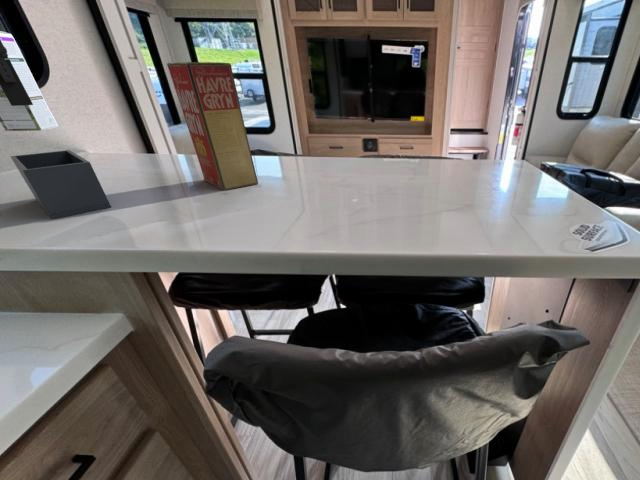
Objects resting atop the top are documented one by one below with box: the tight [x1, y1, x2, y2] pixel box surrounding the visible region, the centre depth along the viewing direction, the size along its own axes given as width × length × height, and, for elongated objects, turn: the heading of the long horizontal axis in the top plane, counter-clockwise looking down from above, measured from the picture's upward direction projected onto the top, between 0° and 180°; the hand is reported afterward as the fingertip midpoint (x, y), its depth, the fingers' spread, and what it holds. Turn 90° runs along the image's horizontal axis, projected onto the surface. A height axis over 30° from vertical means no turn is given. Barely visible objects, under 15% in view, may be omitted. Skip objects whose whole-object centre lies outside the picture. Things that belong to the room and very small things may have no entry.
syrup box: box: [0, 31, 59, 132], centre depth 59 cm, size 6×6×14 cm
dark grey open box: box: [10, 149, 112, 220], centre depth 68 cm, size 17×9×9 cm, turn 49°
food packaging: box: [166, 61, 259, 192], centre depth 78 cm, size 13×9×25 cm
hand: (18, 103), depth 60 cm, fingers closed on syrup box, 8 cm apart
